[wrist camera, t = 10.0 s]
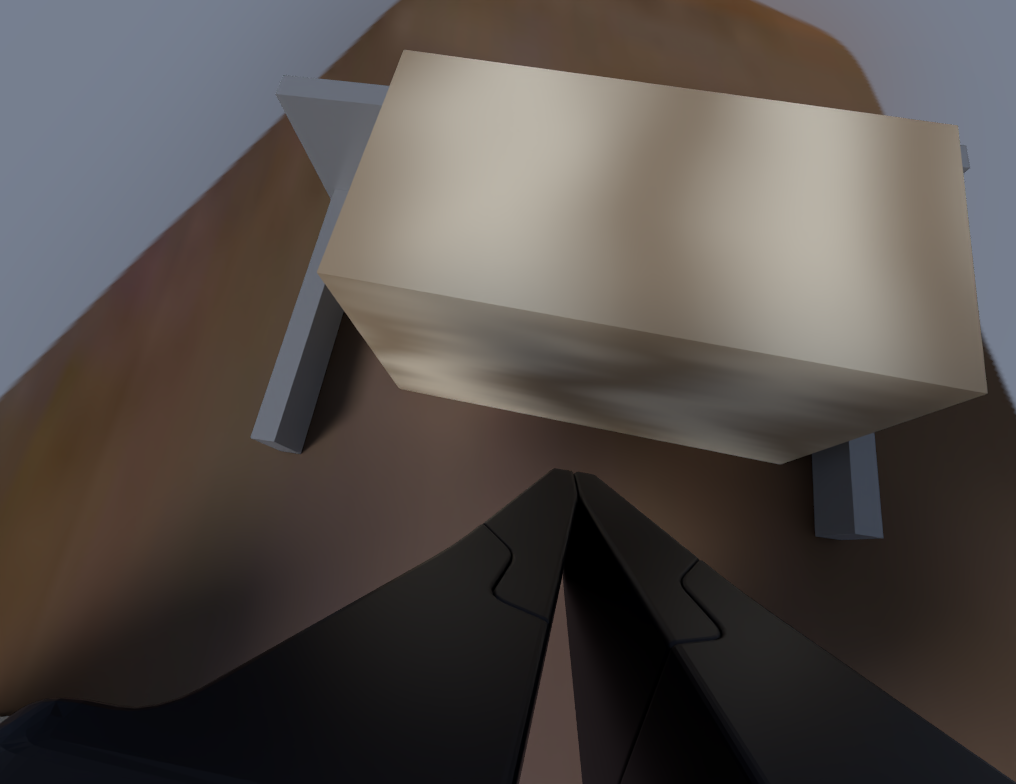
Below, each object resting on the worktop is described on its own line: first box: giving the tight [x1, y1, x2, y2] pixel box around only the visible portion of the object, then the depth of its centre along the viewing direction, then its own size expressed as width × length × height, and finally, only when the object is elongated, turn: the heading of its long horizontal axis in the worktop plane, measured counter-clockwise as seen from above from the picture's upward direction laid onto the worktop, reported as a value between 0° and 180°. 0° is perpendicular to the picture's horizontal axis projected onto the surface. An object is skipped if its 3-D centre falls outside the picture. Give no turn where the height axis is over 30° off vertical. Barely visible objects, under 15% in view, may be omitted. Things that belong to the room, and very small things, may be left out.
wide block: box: [317, 50, 988, 464], centre depth 15 cm, size 14×7×8 cm, turn 78°
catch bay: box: [251, 75, 970, 540], centre depth 15 cm, size 11×20×6 cm, turn 81°
